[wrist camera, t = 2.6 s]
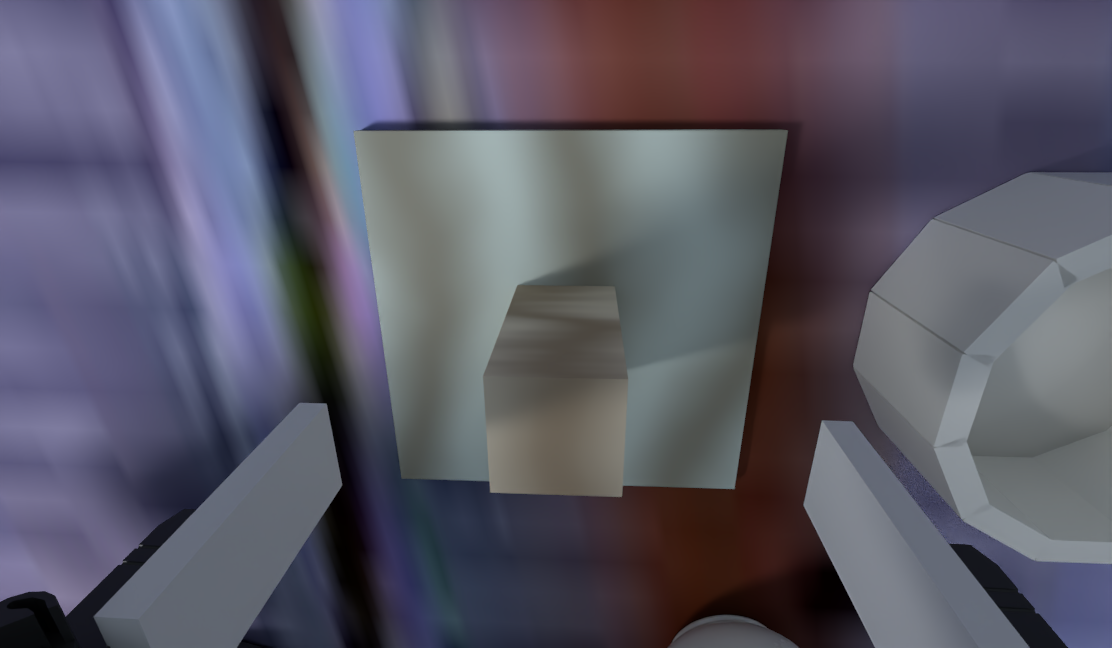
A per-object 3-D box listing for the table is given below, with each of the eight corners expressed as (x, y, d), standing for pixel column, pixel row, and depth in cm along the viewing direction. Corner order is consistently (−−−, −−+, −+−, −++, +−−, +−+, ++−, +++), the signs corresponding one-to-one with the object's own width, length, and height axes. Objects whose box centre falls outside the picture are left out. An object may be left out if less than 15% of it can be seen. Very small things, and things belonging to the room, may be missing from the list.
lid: (409, 463, 28) (329, 624, 19) (365, 129, 22) (221, 148, 13) (728, 473, 27) (793, 645, 18) (777, 128, 21) (908, 149, 12)
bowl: (832, 457, 26) (899, 556, 20) (896, 171, 21) (1010, 198, 15) (1122, 465, 25) (1276, 570, 19) (1261, 172, 20) (1521, 200, 14)
